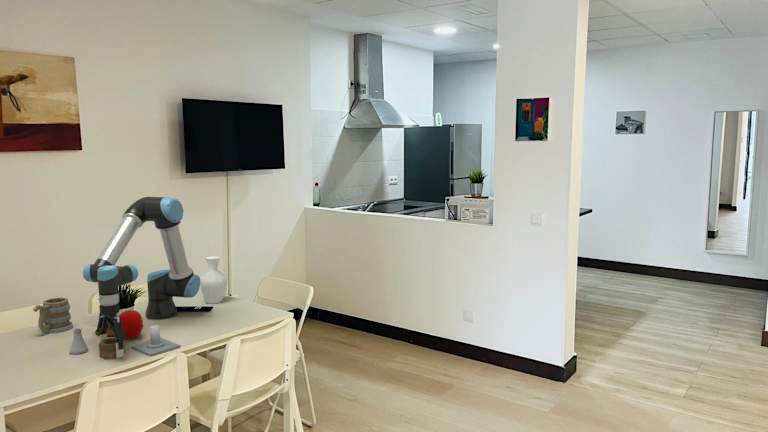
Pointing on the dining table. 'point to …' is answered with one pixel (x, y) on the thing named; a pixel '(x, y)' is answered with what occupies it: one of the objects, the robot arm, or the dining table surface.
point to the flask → (78, 343)
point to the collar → (108, 348)
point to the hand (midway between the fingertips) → (112, 352)
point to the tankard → (54, 315)
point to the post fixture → (155, 343)
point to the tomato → (131, 323)
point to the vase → (213, 282)
